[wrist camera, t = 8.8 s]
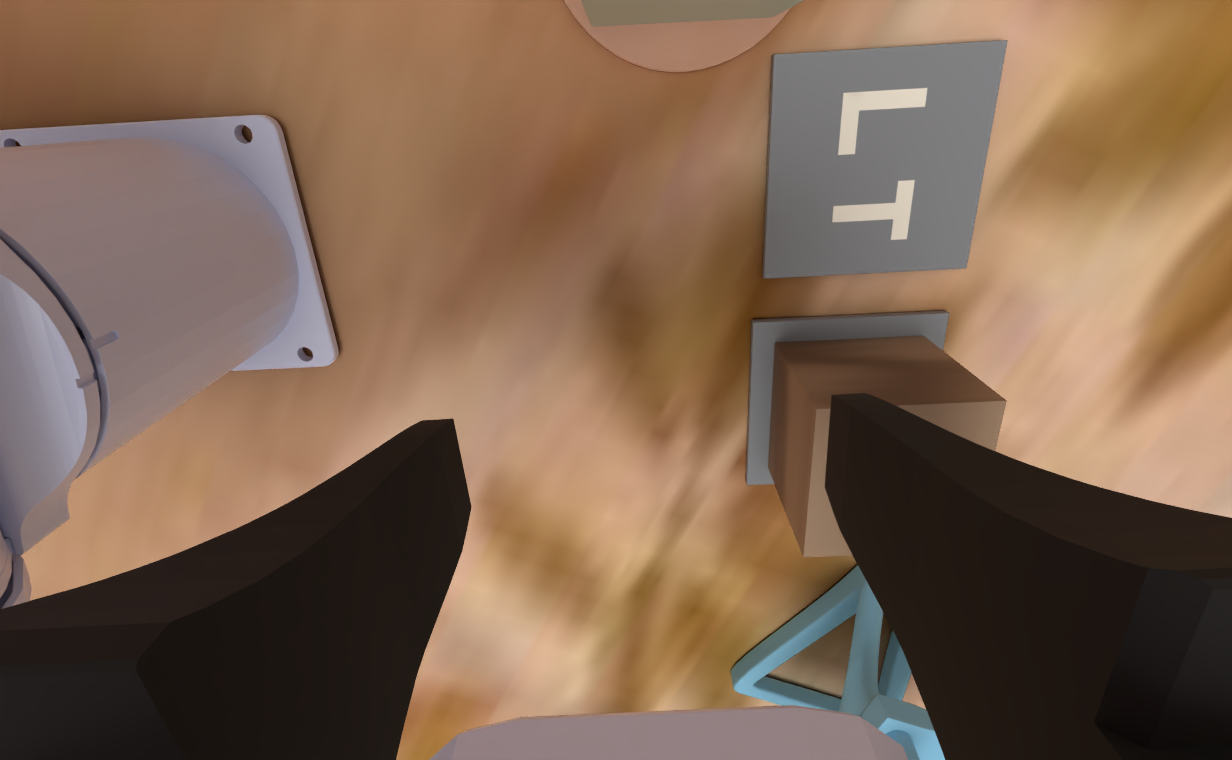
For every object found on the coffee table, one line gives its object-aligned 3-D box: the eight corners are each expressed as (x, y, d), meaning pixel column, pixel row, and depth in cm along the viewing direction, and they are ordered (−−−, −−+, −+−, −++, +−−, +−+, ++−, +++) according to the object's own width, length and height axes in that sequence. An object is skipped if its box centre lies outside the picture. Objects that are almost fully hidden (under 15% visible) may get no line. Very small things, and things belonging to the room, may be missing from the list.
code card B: (745, 480, 24) (747, 485, 24) (751, 319, 21) (753, 322, 21) (916, 473, 24) (920, 478, 23) (945, 310, 21) (949, 313, 21)
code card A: (762, 276, 21) (764, 278, 20) (771, 55, 18) (774, 54, 18) (961, 266, 20) (966, 268, 20) (1001, 41, 18) (1007, 39, 17)
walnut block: (767, 467, 23) (803, 557, 19) (774, 342, 21) (816, 409, 17) (903, 461, 23) (972, 551, 19) (923, 335, 21) (1006, 400, 16)
